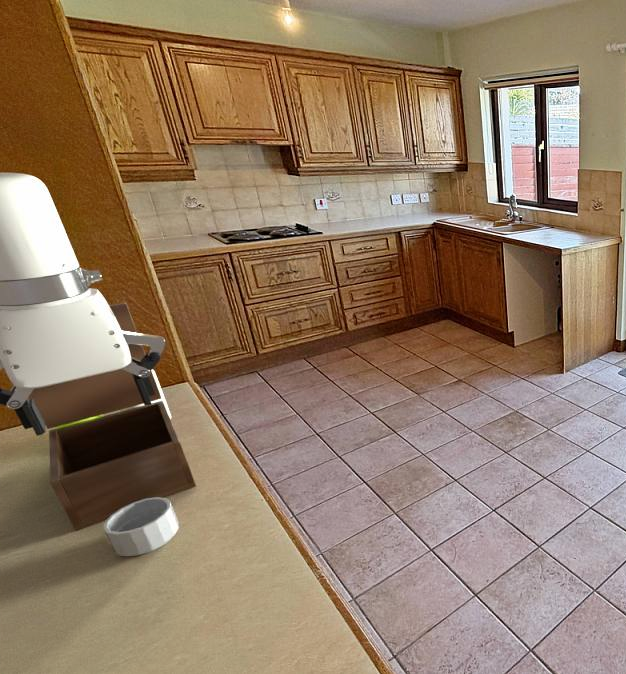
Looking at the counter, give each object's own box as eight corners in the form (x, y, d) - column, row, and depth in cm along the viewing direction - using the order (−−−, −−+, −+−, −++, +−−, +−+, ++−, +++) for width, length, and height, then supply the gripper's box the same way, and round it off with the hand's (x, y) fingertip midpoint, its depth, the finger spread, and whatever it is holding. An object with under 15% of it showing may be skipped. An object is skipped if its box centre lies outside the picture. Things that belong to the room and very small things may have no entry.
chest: (196, 486, 77) (179, 441, 73) (75, 531, 67) (50, 482, 64) (177, 441, 87) (162, 400, 83) (71, 475, 78) (48, 430, 74)
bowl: (103, 563, 63) (90, 538, 61) (133, 525, 69) (122, 501, 67) (164, 553, 65) (154, 528, 63) (189, 517, 71) (180, 494, 69)
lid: (126, 303, 77) (123, 297, 80) (-4, 323, 67) (-1, 315, 71) (162, 398, 83) (158, 389, 86) (47, 429, 74) (48, 417, 77)
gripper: (137, 268, 62) (178, 382, 69) (-83, 295, 50) (-6, 430, 57) (145, 280, 57) (188, 401, 64) (-95, 314, 46) (-10, 458, 52)
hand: (97, 415), depth 61 cm, fingers open, 9 cm apart
